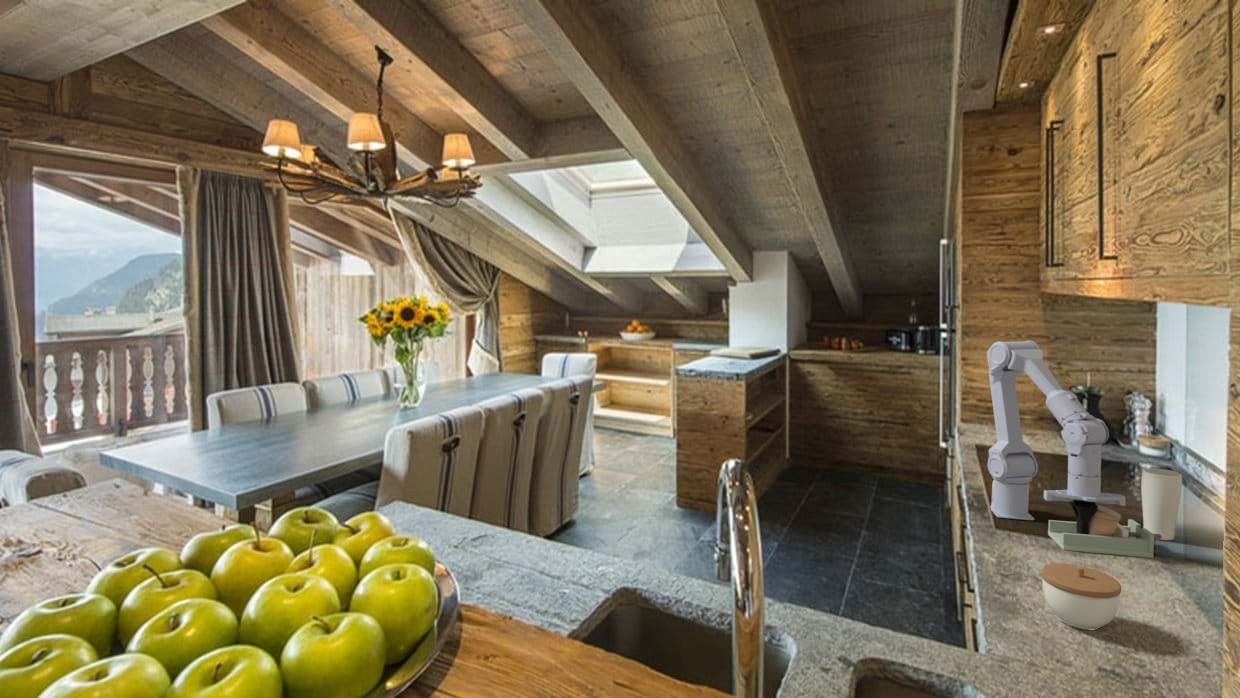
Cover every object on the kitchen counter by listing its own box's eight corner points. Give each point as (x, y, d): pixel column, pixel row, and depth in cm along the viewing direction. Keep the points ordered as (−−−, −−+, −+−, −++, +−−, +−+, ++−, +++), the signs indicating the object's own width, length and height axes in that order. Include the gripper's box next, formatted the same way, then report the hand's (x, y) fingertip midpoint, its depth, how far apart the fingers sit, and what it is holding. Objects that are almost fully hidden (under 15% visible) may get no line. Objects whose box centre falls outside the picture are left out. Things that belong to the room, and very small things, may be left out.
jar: (1078, 529, 135) (1086, 502, 134) (1107, 537, 133) (1116, 509, 132) (1085, 540, 130) (1093, 512, 129) (1115, 548, 128) (1124, 520, 127)
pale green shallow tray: (1047, 534, 139) (1048, 513, 138) (1131, 541, 134) (1132, 519, 133) (1063, 549, 130) (1064, 527, 130) (1153, 557, 125) (1154, 534, 125)
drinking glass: (1180, 545, 131) (1184, 478, 130) (1140, 538, 135) (1143, 473, 134) (1176, 535, 137) (1180, 471, 135) (1137, 528, 141) (1140, 466, 139)
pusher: (1108, 535, 134) (1108, 519, 134) (1151, 539, 131) (1152, 522, 131) (1122, 546, 128) (1122, 530, 128) (1168, 550, 125) (1169, 533, 125)
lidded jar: (1042, 598, 109) (1044, 549, 109) (1118, 617, 103) (1121, 564, 102) (1037, 624, 101) (1039, 570, 100) (1119, 646, 94) (1122, 588, 94)
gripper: (1052, 476, 130) (1051, 537, 130) (1133, 480, 125) (1132, 544, 126) (1040, 468, 136) (1039, 526, 137) (1116, 472, 132) (1115, 532, 133)
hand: (1082, 534), depth 132 cm, fingers closed, pressing on jar
